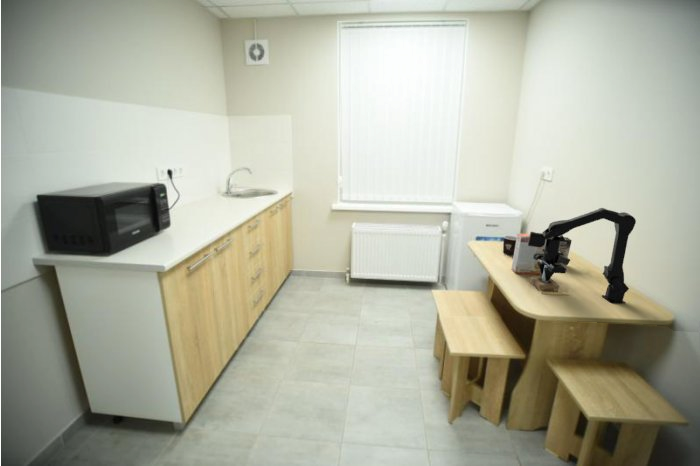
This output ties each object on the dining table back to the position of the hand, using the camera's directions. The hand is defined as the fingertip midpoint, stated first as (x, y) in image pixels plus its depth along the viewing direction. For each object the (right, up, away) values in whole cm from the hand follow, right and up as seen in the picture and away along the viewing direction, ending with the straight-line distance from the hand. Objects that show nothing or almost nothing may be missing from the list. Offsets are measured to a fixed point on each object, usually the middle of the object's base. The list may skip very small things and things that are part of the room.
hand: (545, 279), depth 161 cm
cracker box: (+1, +1, +20) cm, 20 cm away
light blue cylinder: (0, -3, +1) cm, 3 cm away
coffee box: (+24, +4, +31) cm, 39 cm away
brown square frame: (0, -4, +1) cm, 4 cm away
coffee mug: (+5, +9, +46) cm, 47 cm away
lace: (+1, -6, -3) cm, 7 cm away
